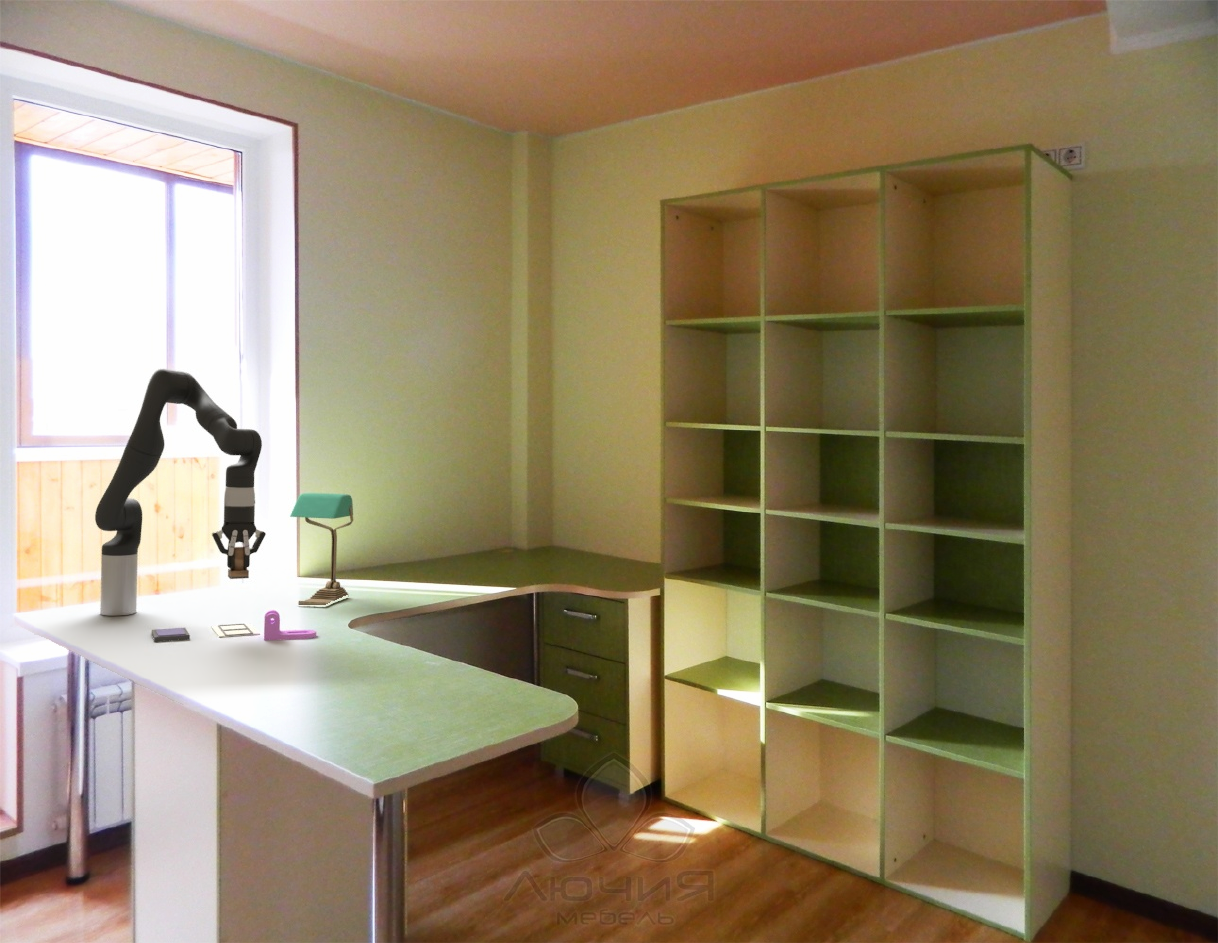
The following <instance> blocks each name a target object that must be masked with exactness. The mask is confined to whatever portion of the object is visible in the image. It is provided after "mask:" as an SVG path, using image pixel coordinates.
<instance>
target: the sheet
mask: <svg viewBox="0 0 1218 943" xmlns="http://www.w3.org/2000/svg"><path fill="white" fill-rule="evenodd" d="M210 628H211V629H212V630H213V631H214V633H215V634H216V636H217V637H218V636H219V637H218V638H230V637H229V636H233V637H243V635H247V636H260V632H259V631H258V630H257V629H256V628H255V627H254V625H252V624H251V623H235V624H233V623H231V624H218V625H215V626H214V625H213V626H211V627H210ZM241 635H242V636H241Z"/></svg>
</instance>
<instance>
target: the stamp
mask: <svg viewBox="0 0 1218 943" xmlns="http://www.w3.org/2000/svg"><path fill="white" fill-rule="evenodd" d="M233 556H234V570H230V568H228V569H227V577H228V578H229V579H230V580H237V579H249V574H250V573H249V572H250V570H249V569H248V568H247V569H244V547H243V546H235V547H234V552H233Z"/></svg>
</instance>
